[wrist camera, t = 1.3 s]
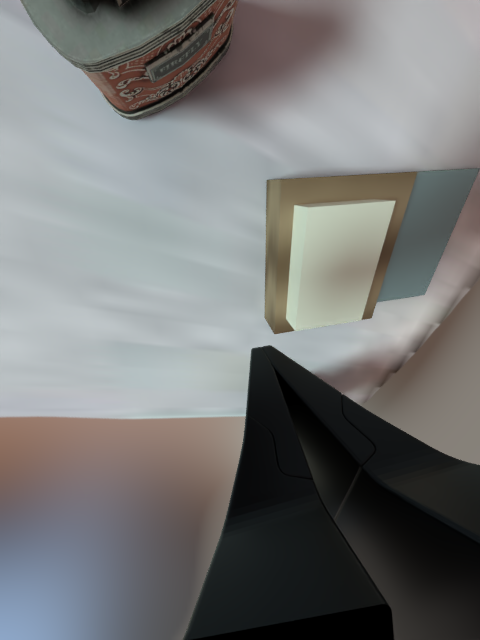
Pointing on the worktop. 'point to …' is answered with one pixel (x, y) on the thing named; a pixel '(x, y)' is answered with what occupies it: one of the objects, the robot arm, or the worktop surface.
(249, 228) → the worktop surface
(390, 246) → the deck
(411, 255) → the mat
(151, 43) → the lighter
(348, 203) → the rectangular block
